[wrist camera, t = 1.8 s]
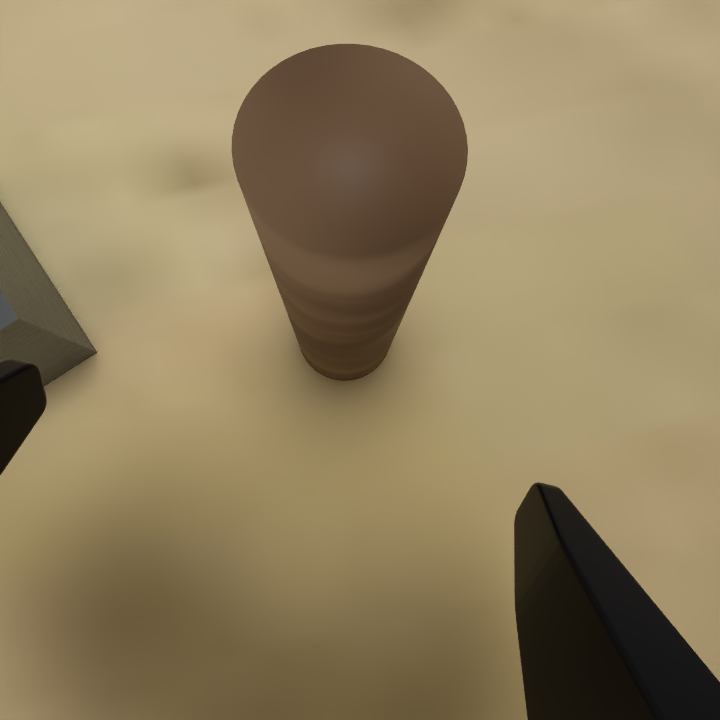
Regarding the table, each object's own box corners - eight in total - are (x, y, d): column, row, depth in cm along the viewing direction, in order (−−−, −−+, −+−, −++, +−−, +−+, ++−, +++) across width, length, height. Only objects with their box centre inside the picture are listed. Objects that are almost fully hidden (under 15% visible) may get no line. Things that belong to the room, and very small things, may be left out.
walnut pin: (334, 398, 20) (322, 301, 8) (280, 324, 21) (186, 116, 8) (408, 345, 21) (515, 171, 8) (354, 274, 21) (375, 7, 9)
